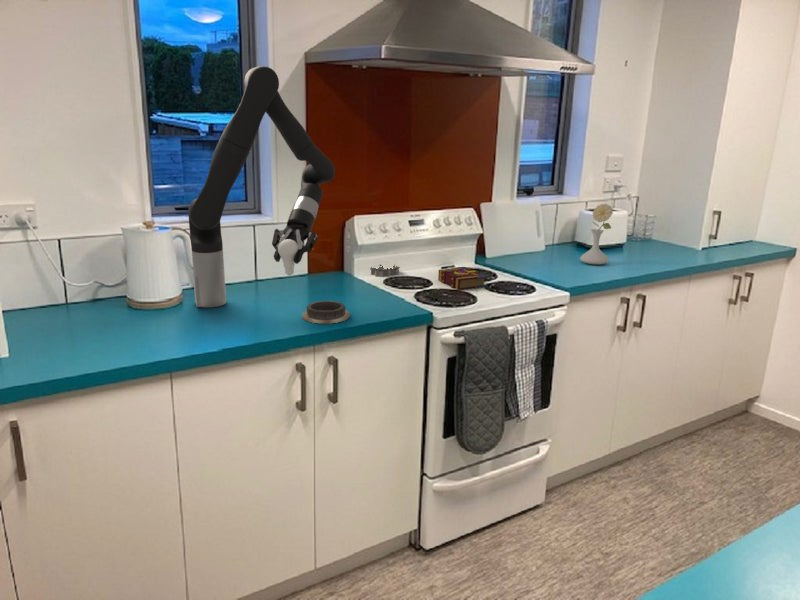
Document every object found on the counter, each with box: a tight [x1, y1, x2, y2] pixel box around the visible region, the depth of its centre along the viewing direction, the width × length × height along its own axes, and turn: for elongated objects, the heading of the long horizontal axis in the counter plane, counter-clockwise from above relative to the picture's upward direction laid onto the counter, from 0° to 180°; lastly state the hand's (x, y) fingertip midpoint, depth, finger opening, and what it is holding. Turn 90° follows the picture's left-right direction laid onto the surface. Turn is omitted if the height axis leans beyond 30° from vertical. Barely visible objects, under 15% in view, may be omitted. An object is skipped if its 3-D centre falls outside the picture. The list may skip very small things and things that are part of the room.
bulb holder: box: [302, 300, 351, 325], centre depth 190 cm, size 14×14×3 cm
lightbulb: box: [278, 239, 298, 277], centre depth 190 cm, size 6×6×11 cm
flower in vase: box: [579, 203, 614, 265], centre depth 259 cm, size 13×11×25 cm
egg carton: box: [369, 264, 401, 278], centre depth 241 cm, size 11×8×4 cm
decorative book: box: [437, 266, 487, 291], centre depth 229 cm, size 11×16×5 cm
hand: (286, 261), depth 188 cm, fingers closed on lightbulb, 5 cm apart
